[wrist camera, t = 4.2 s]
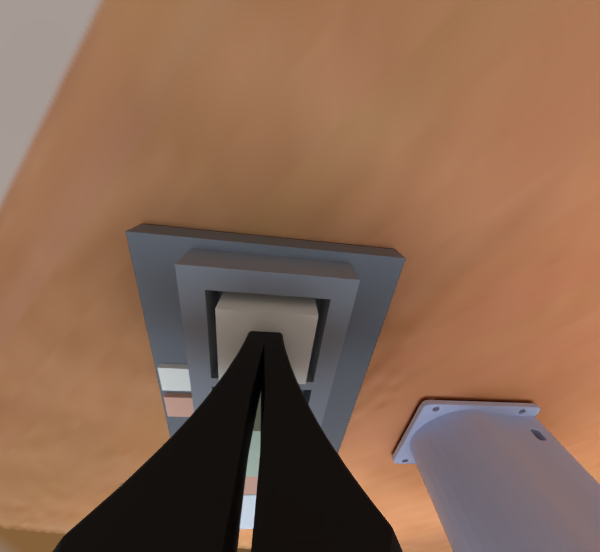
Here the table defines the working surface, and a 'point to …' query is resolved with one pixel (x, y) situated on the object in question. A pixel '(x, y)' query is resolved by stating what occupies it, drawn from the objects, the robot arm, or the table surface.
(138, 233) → the grey compartment tray
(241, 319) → the key
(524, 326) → the table surface
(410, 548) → the table surface
